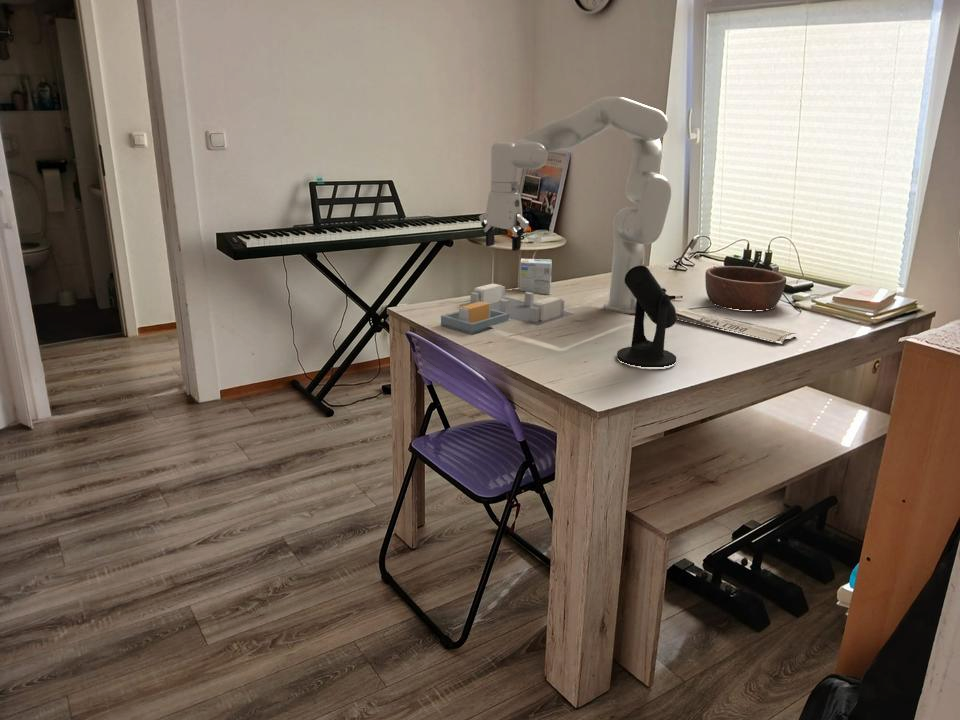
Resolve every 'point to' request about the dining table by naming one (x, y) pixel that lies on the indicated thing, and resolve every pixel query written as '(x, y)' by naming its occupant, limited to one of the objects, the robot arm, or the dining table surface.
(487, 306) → the marked fuse
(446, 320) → the tray
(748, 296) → the wooden bowl
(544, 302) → the block
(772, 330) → the newspaper
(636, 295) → the microphone
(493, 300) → the block
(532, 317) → the fuse block
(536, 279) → the light bulb box
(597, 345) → the dining table surface
